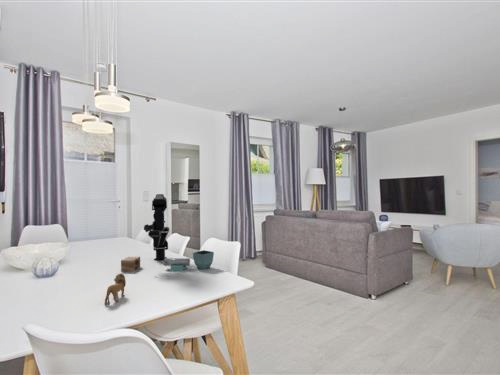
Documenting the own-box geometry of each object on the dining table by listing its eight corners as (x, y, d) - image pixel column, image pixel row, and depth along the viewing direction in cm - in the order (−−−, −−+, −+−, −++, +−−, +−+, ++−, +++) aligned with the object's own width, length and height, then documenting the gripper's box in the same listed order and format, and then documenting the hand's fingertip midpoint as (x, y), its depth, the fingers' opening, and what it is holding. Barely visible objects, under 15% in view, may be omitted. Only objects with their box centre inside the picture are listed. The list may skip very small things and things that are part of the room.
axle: (166, 265, 165) (166, 258, 166) (190, 265, 165) (190, 258, 165) (163, 266, 161) (163, 258, 162) (188, 266, 161) (188, 258, 161)
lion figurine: (115, 293, 125) (115, 272, 125) (128, 292, 125) (127, 272, 126) (102, 306, 110) (101, 283, 110) (116, 306, 111) (116, 282, 111)
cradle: (174, 267, 167) (174, 262, 168) (186, 267, 167) (186, 262, 167) (170, 270, 159) (169, 266, 160) (182, 270, 159) (182, 266, 159)
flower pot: (203, 270, 159) (203, 254, 159) (192, 268, 164) (192, 252, 164) (214, 267, 166) (214, 251, 166) (203, 265, 171) (203, 250, 171)
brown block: (128, 266, 169) (128, 256, 169) (140, 266, 169) (140, 256, 169) (121, 271, 160) (121, 260, 160) (133, 271, 160) (133, 260, 160)
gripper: (151, 218, 180) (152, 243, 180) (139, 221, 161) (139, 249, 161) (169, 217, 179) (169, 243, 179) (158, 221, 161) (158, 249, 161)
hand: (159, 245), depth 170 cm, fingers open, 9 cm apart
